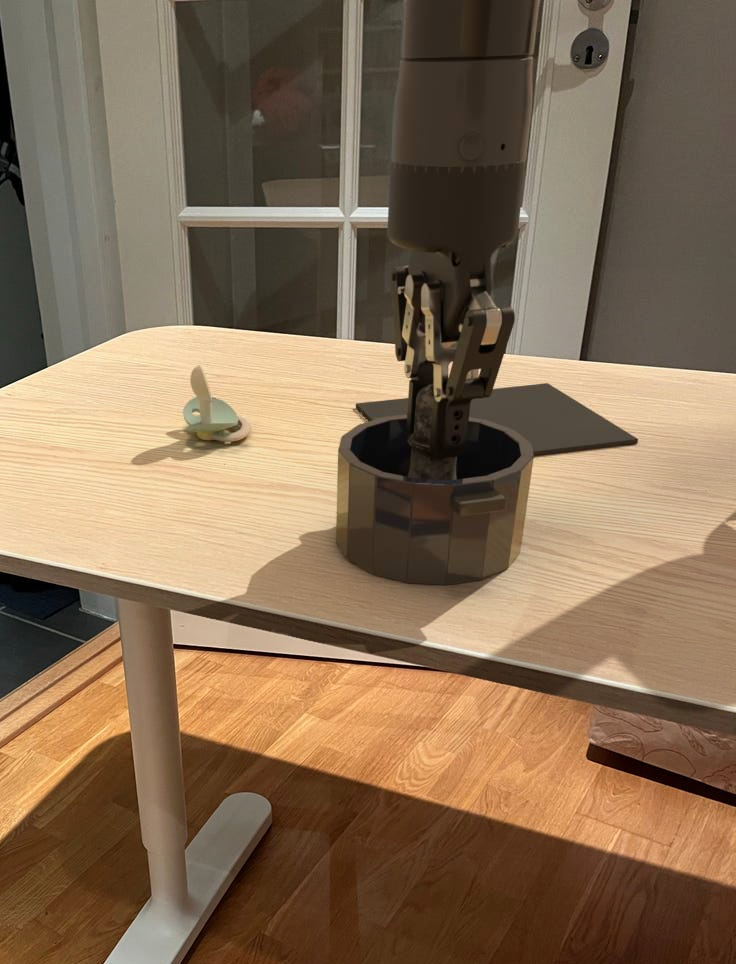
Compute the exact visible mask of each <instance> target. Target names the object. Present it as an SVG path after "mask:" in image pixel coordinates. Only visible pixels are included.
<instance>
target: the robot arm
mask: <svg viewBox="0 0 736 964" xmlns="http://www.w3.org/2000/svg"><path fill="white" fill-rule="evenodd" d="M540 2H541V0H403V1H402V12H401V13H402V15H401V35H400V55H399V56H400V61H399V67H398V69H399V70H398V76H397V83H396V84H397V85H396V88H395V93H394V100H393V108H392V109H393V110H392V125H391V126H392V127H391V146H390V147H391V148H390V165H389V166H390V167H389V168H390V170H389V188H388V189H389V190H388V211H387V233H386V234H387V237H388V239H389V241H390V243H392V244H393V245H395V246H396V247H399V248H402V249H405V250H408V251H409V250H410V255H409V259H408V265H402V266H395V267H392V268H391V269H390V273H389V280H390V281H389V283H390V293H391V294H390V295H391V308H392V320H393V321H392V322H393V334H394V335H393V336H394V337H393V338H394V349H395V350H394V352H395V353H394V354H395V357H396V360H397V362H404V367H403V370H404V375H405V377H406V378H407V379H409V380H408V381H409V382H408V396H407V398H408V410H407V426H406V428H407V431H408V432H409V433H410V434H413V433H414V422H415V408H416V398H417V394H418V393H419V392H420V390H421V389H423V388H424V387H426V386H428V385H432V384H433V383H434V397H435V399H434V400H433V411H432V424H431V437H430V452H431V453H432V454H433V455H434V456H435V457H436V458H438V459H442V458H450V457H458V456H461V455H463V454H464V452H465V450H466V443H467V433H468V423H469V413H470V403H471V400H472V399H477V398H487V397H490V396H491V393H492V390H493V389H494V387H495V385H496V381H497V378H498V374H499V371H500V368H501V365H502V362H503V360H504V356H505V353H506V350H507V346H508V343H509V340H510V338H511V334H512V331H513V328H514V325H515V322H516V321H515V320H516V315H515V311H514V308H513V307H512V306H510V305H509V306H499V307H497V306H496V304H495V302H494V301H493V299H492V294H493V288H494V286H493V284H494V282H493V275H492V274H493V273H492V256H493V255H494V253H495V252H496V251H497V250H499V249H500V248H505V247H508V246H509V245H511V244H512V243H513V242H514V241H515V240H516V239H517V238H518V237H517V236H518V234H519V225H520V218H521V217H520V216H521V207H522V200H523V198H522V197H523V191H524V182H525V174H526V173H525V172H526V165H527V157H528V148H529V139H530V132H531V122H532V114H533V113H532V112H533V98H534V97H533V95H534V94H533V93H534V91H533V87H534V86H533V67H534V57H533V54H535V46H536V39H537V38H536V37H537V29H538V28H537V27H538V20H539V11H540ZM456 343H457V345H456V346H454V345H455V344H456ZM452 346H453V347H452ZM450 364H452V365H451V367H450V371H449V366H450ZM479 370H480V371H479Z"/></svg>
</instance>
